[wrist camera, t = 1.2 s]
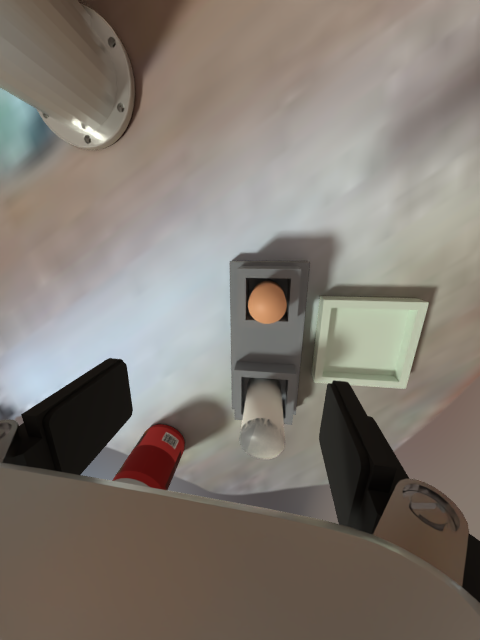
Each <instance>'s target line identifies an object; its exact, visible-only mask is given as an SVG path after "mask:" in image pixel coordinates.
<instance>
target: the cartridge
mask: <svg viewBox="0 0 480 640" xmlns="http://www.w3.org/2000/svg"><path fill="white" fill-rule="evenodd" d="M239 441H240V445H241V447H242V449H243V450H244V451H245V452H246V453H247V454H249V455H250V456H252V457H255V458H258V459H271V458H274V457H276V456H278V455H279V454H281V453H282V451H283V450H284V447H285V434H284V421H283V408H282V395H281V385H280V382H279V381H278V379H266V378H251V379H250V380H249V383H248V388H247V394H246V400H245V406H244V413H243V419H242V425H241V432H240V438H239Z"/></svg>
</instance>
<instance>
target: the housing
mask: <svg viewBox="0 0 480 640" xmlns="http://www.w3.org/2000/svg"><path fill="white" fill-rule="evenodd" d="M309 266H310V262H308V261H230V311H231V373H232V409H235V420H242V419H243V413H244V406H245V400H246V394H247V388H248V383H249V380H250V379H251V378H266V379H278V381H279V382H280V385H281V395H282V408H283V421H284V424H290V425H292V419H293V414H294V415H296V406H297V395H298V384H299V373H300V363H301V352H302V341H303V330H304V320H305V309H306V298H307V287H308V277H309ZM263 281H273V282H275V283H277V284H278V285H280V286H281V288H282V289H283V292H284V295H285V298H286V303H287V308H286V312H285V314H284V315H283V317H282V318H281V319H280V320H278V321H277V322H274V323H271V324H264V323H260V322H258V321H256V320H255V319H254V318H253V317H252V316H251V314H250V312H249V309H248V301H249V298H250V296H251V293H252V291H253V289H254V287H255V286H256V285H257V284H259V283H260V282H263Z"/></svg>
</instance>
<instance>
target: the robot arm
mask: <svg viewBox="0 0 480 640" xmlns="http://www.w3.org/2000/svg"><path fill="white" fill-rule="evenodd" d="M0 88H2V89H4V90H5V91H7V92H9V93H11V94H12V95H14V96H16V97H17V98H19V99H21V100H22V101H24V102H26V103H28V104H29V105H31V106H33V107H34V108H36V109H37V111H38V112H39V114H40V116H41V117H42V119H43V120H44V122H45V123H46V124H47V126H48V127H49V128H50V129H51V130H52V131H53V132H54V133H55V134H56V135H57V136H58V137H60V138H61V139H63V140H64V141H66V142H68V143H69V144H71V145H73V146H76V147H78V148H81V149H85V150H100V149H104V148H106V147H108V146H110V145H112V144H113V143H115V142H116V141H117V140H118V139H119V138H120V137H121V136H122V134H123V133H124V131H125V130H126V128H127V126H128V124H129V121H130V119H131V116H132V112H133V108H134V99H135V84H134V76H133V71H132V66H131V63H130V60H129V57H128V54H127V52H126V50H125V48H124V46H123V44H122V42H121V40H120V39H119V37H118V36H117V35H116V33H115V32H114V30H113V29H112V27H111V26H110V25H109V24H108V23H107V22H106V20H105V19H104V18H103V17H102V16H100V15H99V14H98V13H97V12H95V11H94V10H93V9H91V8H89V7H87V6H85V5H83V4H80V3H79V1H78V0H0ZM132 411H133V408H132V401H131V394H130V387H129V380H128V372H127V366H126V364H125V363H124V362H123V360H121V359H112V358H109V359H107V360H105V361H104V362H102V363H101V364H99V365H98V366H96V367H94V368H93V369H91V370H90V371H88V372H87V373H85V374H84V375H82V376H80V377H79V378H77V379H76V380H74V381H73V382H71V383H70V384H68V385H66V386H65V387H63V388H62V389H60V390H59V391H57V392H56V393H54V394H52V395H51V396H49V397H48V398H46V399H45V400H43V401H42V402H40V403H38V404H37V405H35V406H34V407H32V408H31V409H29V410H28V411H26V412H24V413H23V414H21V415H22V418H23V421H24V423H23V424H21V425H20V426H19V425H18V423H17V422H16V421H14V420H1V421H0V640H480V541H479V540H477V539H476V538H475V537H473V536H472V535H470V534H469V529H468V523H467V521H466V519H465V517H464V515H463V513H462V512H461V511H460V509H459V508H458V507H457V506H456V504H455V503H454V502H453V501H452V500H451V499H449V498H448V497H447V496H446V495H445V494H444V493H442V492H441V491H439V490H438V489H436V488H435V487H433V486H431V485H429V484H427V483H425V482H422V481H419V480H416V479H409V477H408V476H407V474H406V472H405V471H404V469H403V467H402V466H401V464H400V462H399V460H398V459H397V457H396V455H395V454H394V452H393V450H392V449H391V447H390V445H389V444H388V442H387V440H386V439H385V437H384V435H383V434H382V432H381V430H380V428H379V427H378V425H377V423H376V422H375V420H374V419H373V418H372V417H369V416H367V414H366V412H365V411H364V409H363V407H362V405H361V404H360V402H359V400H358V398H357V397H356V395H355V393H354V391H353V389H352V388H351V386H350V384H349V383H348V382H346V381H335V380H333V382H332V384H331V383H328V385H327V390H326V396H325V403H324V409H323V415H322V421H321V427H320V434H319V441H320V446H321V450H322V455H323V459H324V463H325V467H326V471H327V476H328V480H329V484H330V488H331V493H332V496H333V501H334V505H335V509H336V514H337V518H338V522H339V524H336V523H332V522H328V521H324V520H320V519H315V518H310V517H305V516H301V515H295V514H291V513H286V512H281V511H276V510H270V509H266V508H261V507H254V506H250V505H244V504H239V503H233V502H227V501H222V500H217V499H212V498H206V497H201V496H195V495H190V494H184V493H178V492H173V491H168V490H162V489H156V488H151V487H145V486H139V485H134V484H128V483H122V482H117V481H111V480H105V479H99V478H93V477H87V476H81V475H80V474H81V473H82V472H83V471H84V470H85V469H86V468H87V466H88V465H89V464H90V463H91V462H92V461H93V460H94V458H95V457H96V456H97V455H98V454H99V453H100V452H101V450H102V449H103V448H104V447H105V446H106V445H107V444H108V442H109V441H110V440H111V439H112V438H113V437H114V436H115V434H116V433H117V432H118V431H119V430H120V429H121V427H122V426H123V425H124V424H125V423H126V422H127V421H128V419H129V418H130V417H131V415H132Z"/></svg>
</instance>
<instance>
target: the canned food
mask: <svg viewBox="0 0 480 640" xmlns="http://www.w3.org/2000/svg"><path fill="white" fill-rule="evenodd" d="M184 444H185V442H184V438H183V436H182V435H181V433H180V432H179V431H177V430H176V429H175V428H173V427H171V426H168V425H163V424H158V425H154V426H152V427H150V428H149V429H148V430H147V431H146V432H145V433H144V434H143V436H142V437H141V439H140V440H139V442H138V443H137V445H136V446H135V448H134V449H133V451H132V452H131V454H130V455H129V456H128V458H127V459H126V461H125V462H124V464H123V466H122V467H121V468H120V470H119V471H118V473H117V474H116V476H115V477H114V479H113V480H112V481H117V482H122V483H128V484H134V485H139V486H145V487H151V488H156V489H162V490H168V487H169V485H170V482H171V480H172V478H173V475H174V473H175V471H176V468H177V466H178V463H179V461H180V459H181V456H182V454H183V451H184Z"/></svg>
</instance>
